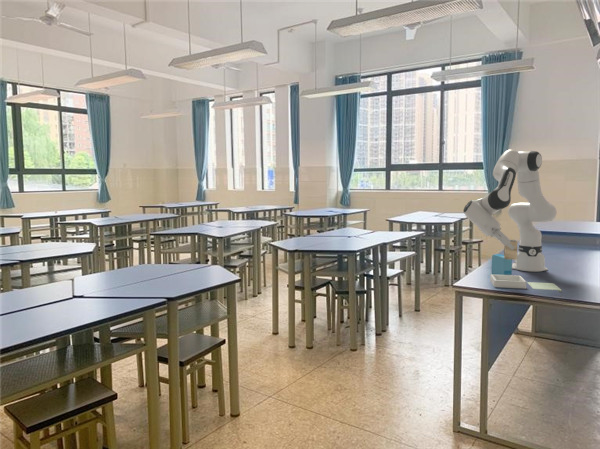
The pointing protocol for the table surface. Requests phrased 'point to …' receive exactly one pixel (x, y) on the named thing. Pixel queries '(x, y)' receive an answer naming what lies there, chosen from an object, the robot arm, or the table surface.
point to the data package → (501, 265)
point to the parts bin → (507, 281)
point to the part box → (511, 251)
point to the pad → (544, 286)
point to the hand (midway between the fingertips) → (512, 247)
